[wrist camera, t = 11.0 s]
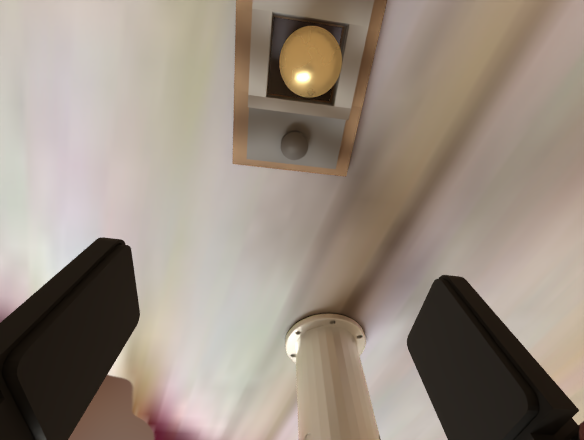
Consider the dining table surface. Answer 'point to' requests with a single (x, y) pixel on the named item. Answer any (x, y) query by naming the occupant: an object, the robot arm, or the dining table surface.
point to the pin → (310, 61)
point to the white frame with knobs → (295, 110)
